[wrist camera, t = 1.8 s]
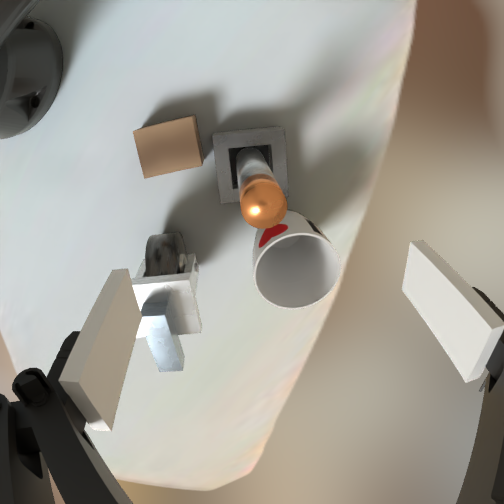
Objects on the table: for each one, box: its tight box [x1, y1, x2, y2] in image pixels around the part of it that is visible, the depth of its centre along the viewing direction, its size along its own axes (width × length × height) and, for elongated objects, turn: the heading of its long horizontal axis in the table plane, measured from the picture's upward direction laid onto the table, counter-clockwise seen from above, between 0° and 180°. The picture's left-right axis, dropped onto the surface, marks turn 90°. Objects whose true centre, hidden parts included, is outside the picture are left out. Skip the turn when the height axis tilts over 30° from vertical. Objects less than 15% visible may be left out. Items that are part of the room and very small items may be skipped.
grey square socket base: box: [212, 127, 288, 204], centre depth 33 cm, size 7×7×3 cm
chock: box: [133, 115, 204, 179], centre depth 31 cm, size 5×6×4 cm
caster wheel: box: [131, 232, 202, 372], centre depth 33 cm, size 10×7×13 cm
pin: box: [236, 147, 287, 229], centre depth 28 cm, size 3×3×15 cm
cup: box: [253, 210, 341, 309], centre depth 34 cm, size 8×8×10 cm
